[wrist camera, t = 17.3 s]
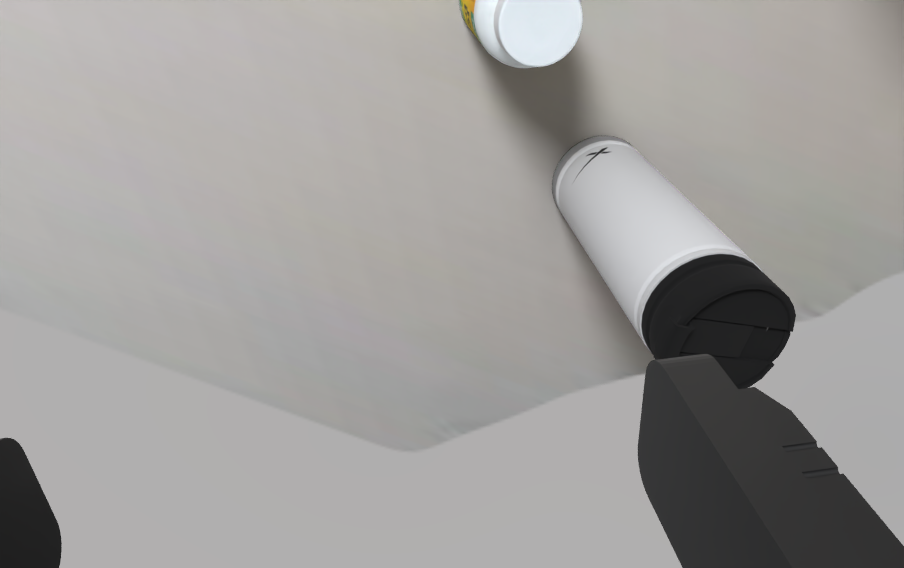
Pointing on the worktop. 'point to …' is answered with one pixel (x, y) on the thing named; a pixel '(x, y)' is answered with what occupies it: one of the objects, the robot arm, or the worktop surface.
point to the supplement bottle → (524, 29)
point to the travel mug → (670, 262)
